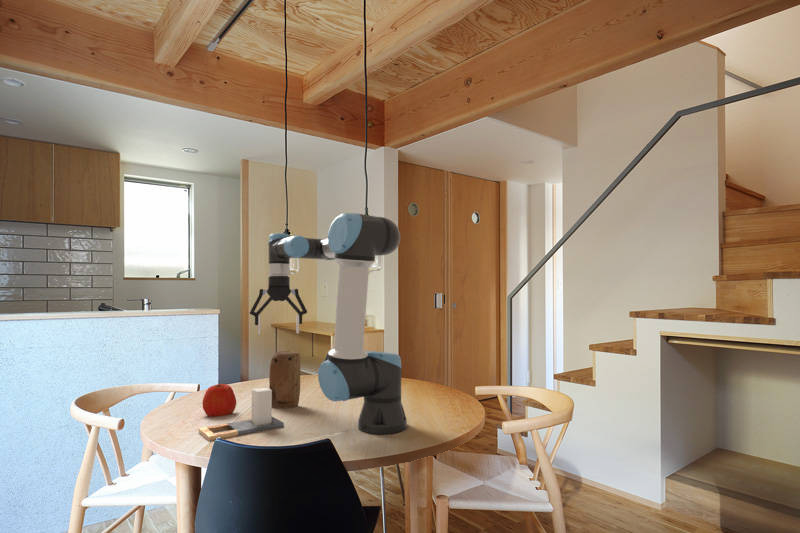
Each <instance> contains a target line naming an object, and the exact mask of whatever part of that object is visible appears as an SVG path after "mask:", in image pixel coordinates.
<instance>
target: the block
mask: <svg viewBox="0 0 800 533" xmlns="http://www.w3.org/2000/svg"><path fill="white" fill-rule="evenodd" d="M268 373H269V379H268V382H269V384H268V385H269V388H268V389H271V390H272V408H281V409H284V408H285V409H288V408H290V409H292V408H296V407H299V403H300V395H301V356H300V352H299V351H290V350H283V351H282V350H281V351H277V352H276V353H275V354H274V355H272V358H271V361H270V365H269V372H268Z"/></svg>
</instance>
